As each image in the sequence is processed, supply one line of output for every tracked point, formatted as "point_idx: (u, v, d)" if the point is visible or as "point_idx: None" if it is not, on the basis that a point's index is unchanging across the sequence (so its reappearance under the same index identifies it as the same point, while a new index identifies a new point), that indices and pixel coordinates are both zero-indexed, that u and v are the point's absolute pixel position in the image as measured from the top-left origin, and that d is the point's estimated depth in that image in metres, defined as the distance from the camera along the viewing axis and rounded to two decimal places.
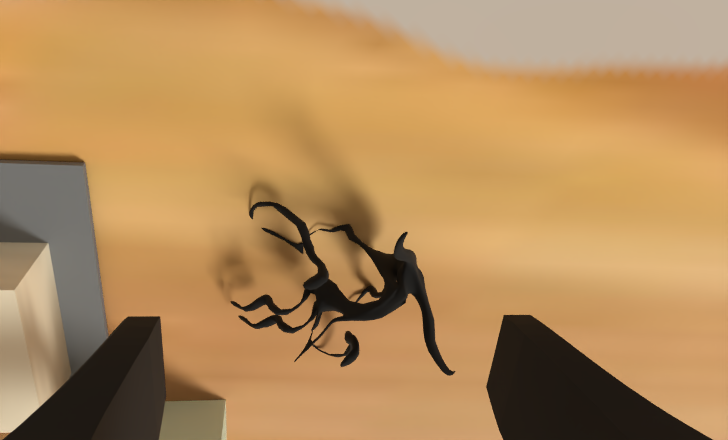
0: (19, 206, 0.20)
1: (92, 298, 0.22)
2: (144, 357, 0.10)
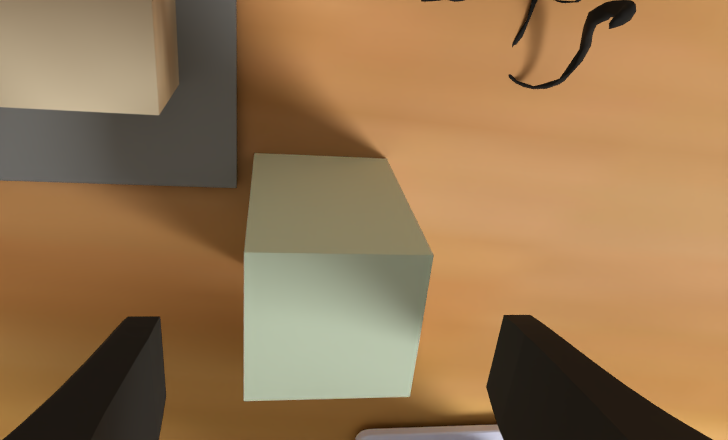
0: None
1: None
2: (144, 357, 0.10)
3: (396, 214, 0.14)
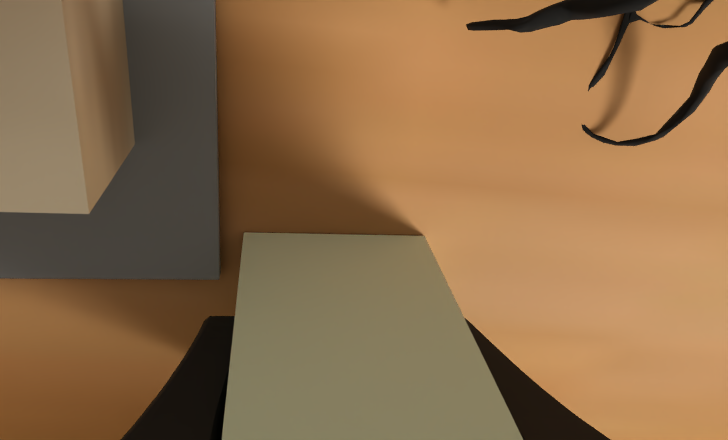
0: None
1: None
2: None
3: (454, 352, 0.09)
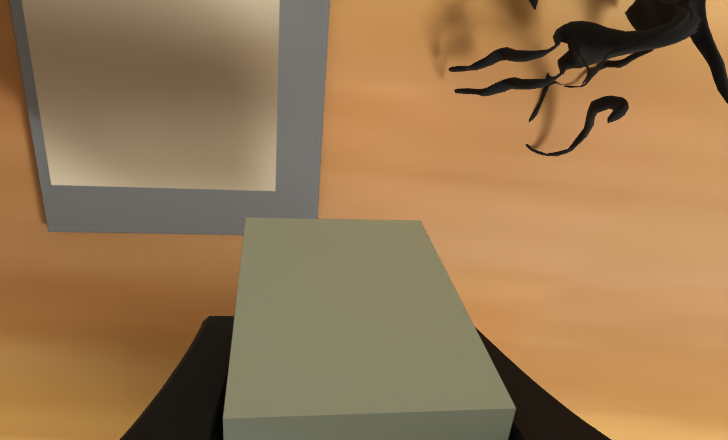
0: None
1: (317, 47, 0.18)
2: None
3: (447, 323, 0.10)
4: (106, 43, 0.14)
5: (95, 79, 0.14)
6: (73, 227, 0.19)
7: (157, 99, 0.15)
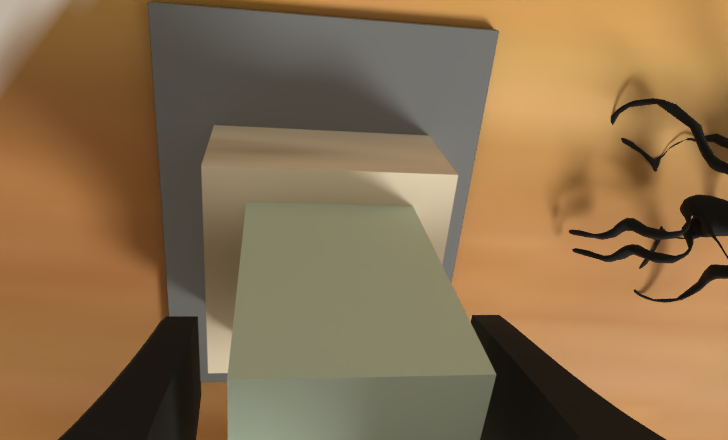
0: (411, 84, 0.16)
1: (455, 211, 0.18)
2: (187, 357, 0.10)
3: (436, 300, 0.10)
4: None
5: None
6: None
7: None
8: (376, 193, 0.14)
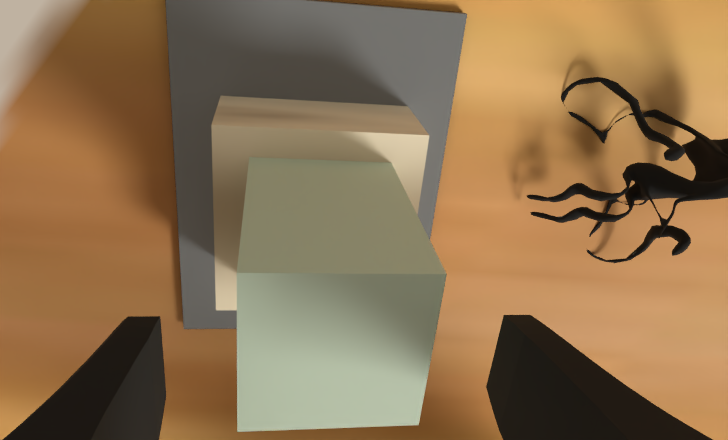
0: (391, 60, 0.18)
1: (432, 174, 0.20)
2: (144, 357, 0.10)
3: (404, 227, 0.13)
4: None
5: None
6: (205, 325, 0.22)
7: None
8: (359, 150, 0.16)
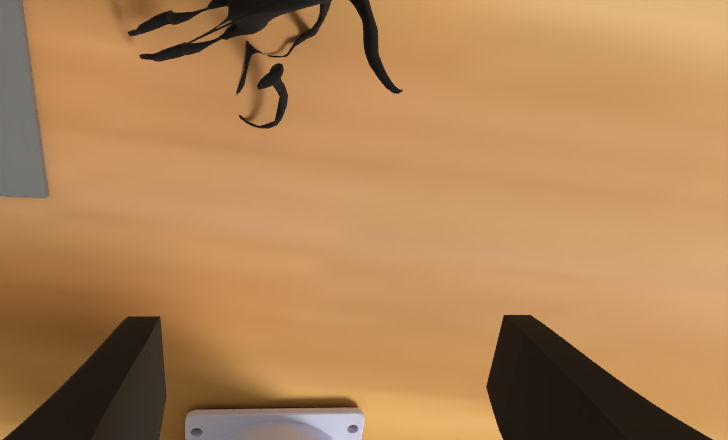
0: None
1: None
2: (144, 357, 0.10)
3: None
4: None
5: None
6: None
7: None
8: None
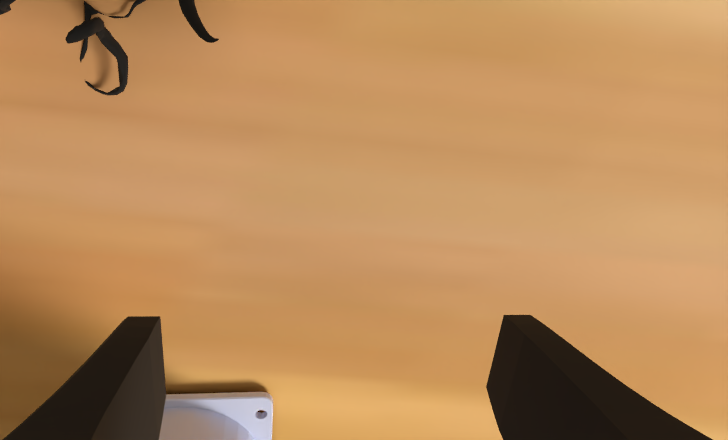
0: None
1: None
2: (144, 357, 0.10)
3: None
4: None
5: None
6: None
7: None
8: None
